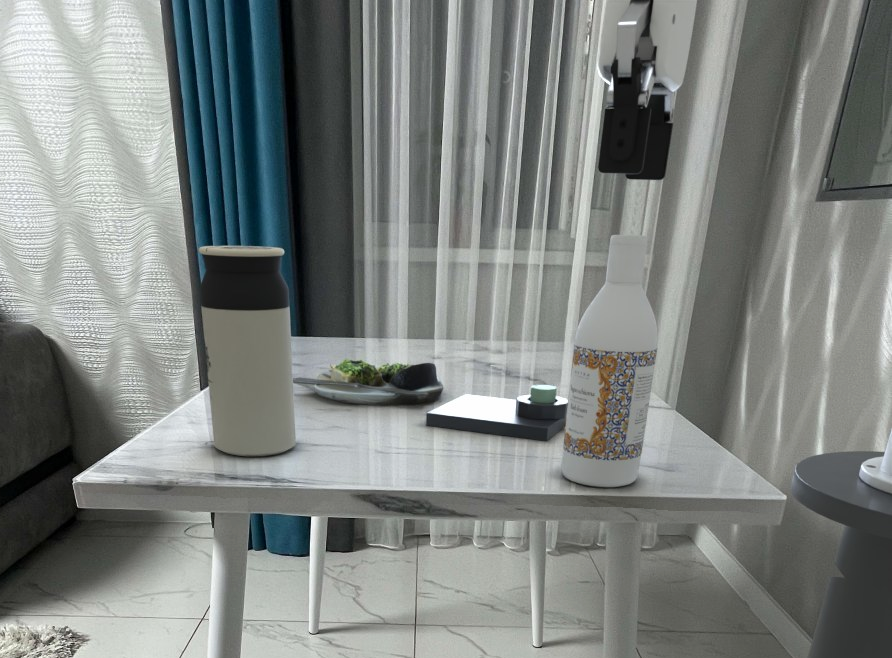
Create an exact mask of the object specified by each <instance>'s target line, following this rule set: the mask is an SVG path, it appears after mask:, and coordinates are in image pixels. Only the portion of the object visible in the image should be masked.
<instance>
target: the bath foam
mask: <svg viewBox="0 0 892 658" xmlns="http://www.w3.org/2000/svg"><path fill="white" fill-rule="evenodd" d="M648 238H649V237H648V236H647V235H637V234H636V235H635V234H612V235H611V236H610V240H609V247H608V257H607V266H606V274H605V282H604V284H603V286H602V287H601V289H600V290H599V291H598V293H597V294H596V295H595V297H594V298H593V299H592V301H591V302H590V304H589V305H588V307H587V308H586V309H585V312H584V313H583V315H582V317H581V319H580V321H579V324H578V326H577V329H576V333H575V338H574V343H573V348H572V349H573V350H572V360H571V369H570V379H569V389H568V398H567V400H568V406H567V415H566V425H565V427H564V435H563V445H562V455H561V456H562V457H561V465H560V466H561V467H560V468H561V469H560V471H561V474H562V475H563V477H564V478H566V479H567V480H569V481H571V482H573V483H576V484H579V485H584V486H589V487H596V488H616V487H617V488H618V487H623V486H628V485H630V484H632V483H634V482H635V481H636V480H637V478H638V475H639V472H640V471H639V470H640V464H641V457H642V454H643V447H644V446H643V445H644V440H645V439H644V438H645V432H646V426H647V421H648V420H647V419H648V414H649V413H648V412H649V406H650V400H651V392H652V387H653V386H652V385H653V382H654V381H653V380H654V374H655V373H654V372H655V366H656V361H657V353H658V345H659V344H658V343H659V342H658V341H659V340H658V339H659V336H658V335H659V334H658V326H657V320H656V316H655V313H654V311H653V308H652V305H651V303H650V301H649V299H648V297H647V295H646V292H645V290H644V287H643V285H642V282H643V274H644V268H645V262H646V254H647V247H648V241H649V239H648Z"/></svg>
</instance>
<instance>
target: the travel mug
mask: <svg viewBox="0 0 892 658" xmlns="http://www.w3.org/2000/svg"><path fill="white" fill-rule="evenodd" d="M198 252H199V253H200V254H201V257H202V259H203V263H204V268H205V273H204V275H203V278H202V280H201V283H200V285H199V298H200V308H201V316H202V318H201V319H202V328H203V339H204V351H205V362H206V372H207V383H208V393H209V404H210V415H211V424H212V425H211V426H212V435H213V445H214V448H216V449H217V450H219V451H220V452H223V453H225V454H227V455H232V456H238V457H266V456H275V455H279V454H283V453H286V452H287V451H288V450H290V449H292V448H294V447H295V446H296V444H297V437H296V416H295V394H294V393H295V392H294V383H293V378H294V374H293V372H294V371H293V349H292V331H291V330H292V329H291V327H292V326H291V308H290V288H289V286H288V284H287V282H286V281H285V278H284V277H283V274H282V273H281V269H282V268H281V267H282V258H283V256H284V255H285V250H284V249H283V248H282V247H273V246H257V245H256V246H255V245H254V246H253V245H205V246H200V247H199V248H198Z"/></svg>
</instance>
